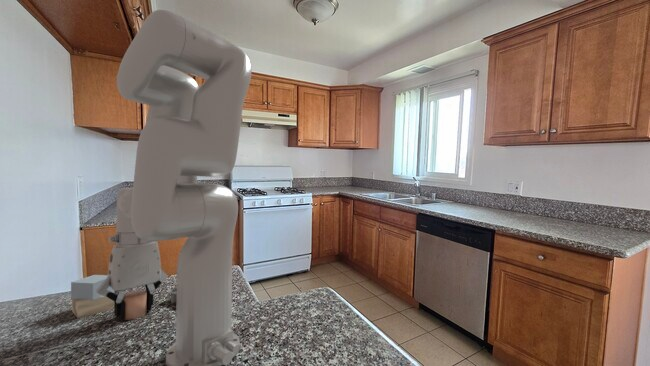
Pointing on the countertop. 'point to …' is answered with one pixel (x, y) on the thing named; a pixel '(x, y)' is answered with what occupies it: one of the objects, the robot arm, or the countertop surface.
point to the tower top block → (88, 287)
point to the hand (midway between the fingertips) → (134, 312)
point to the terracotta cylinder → (135, 304)
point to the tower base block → (91, 306)
